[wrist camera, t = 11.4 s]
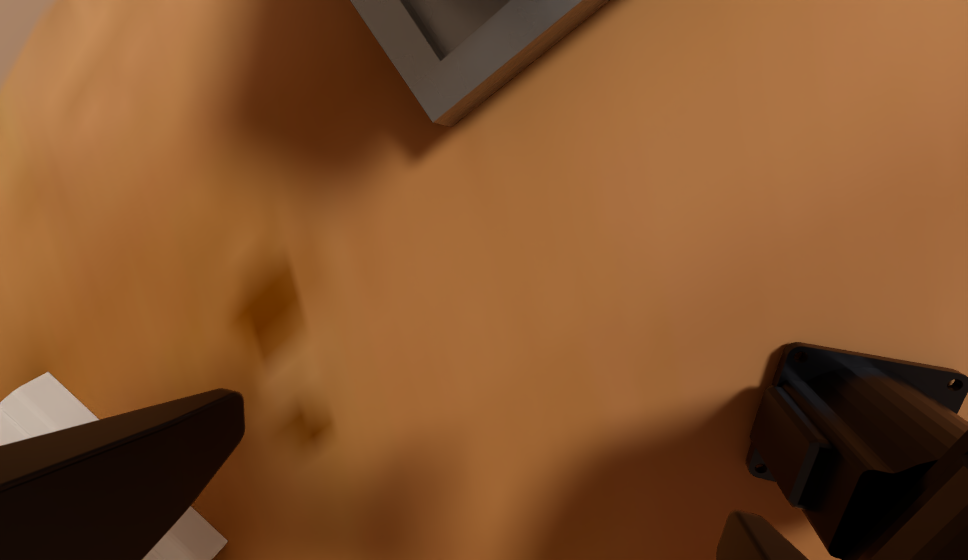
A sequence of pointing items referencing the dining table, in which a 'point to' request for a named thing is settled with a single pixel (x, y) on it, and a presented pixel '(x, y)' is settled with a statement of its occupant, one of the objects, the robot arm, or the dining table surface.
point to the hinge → (54, 408)
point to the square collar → (467, 44)
